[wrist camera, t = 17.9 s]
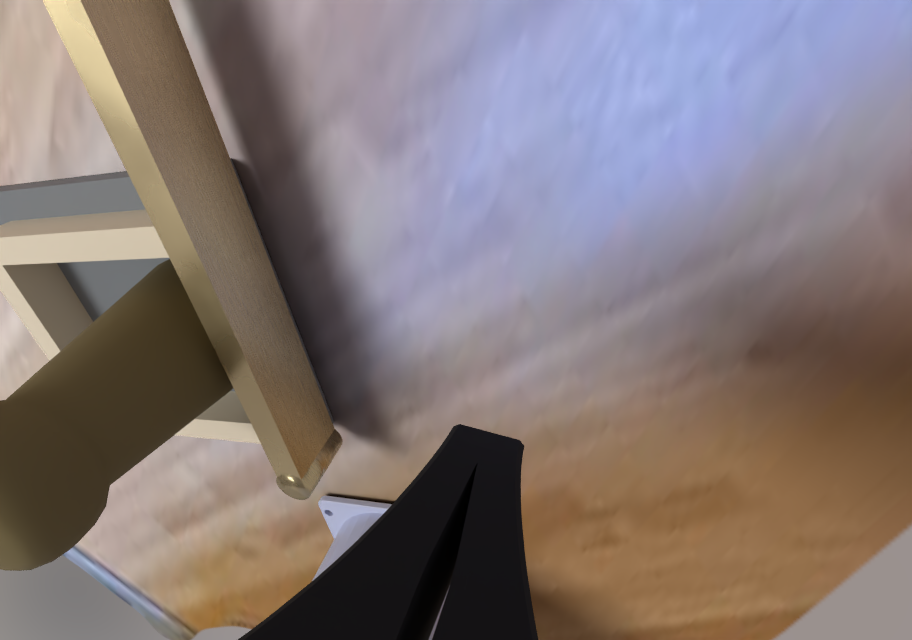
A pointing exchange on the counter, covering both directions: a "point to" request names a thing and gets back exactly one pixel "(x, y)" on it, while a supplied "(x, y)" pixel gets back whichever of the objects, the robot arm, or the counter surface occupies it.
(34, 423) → the brown rounded piece
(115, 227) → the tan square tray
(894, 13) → the counter surface
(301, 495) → the bar
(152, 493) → the counter surface
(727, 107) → the counter surface
